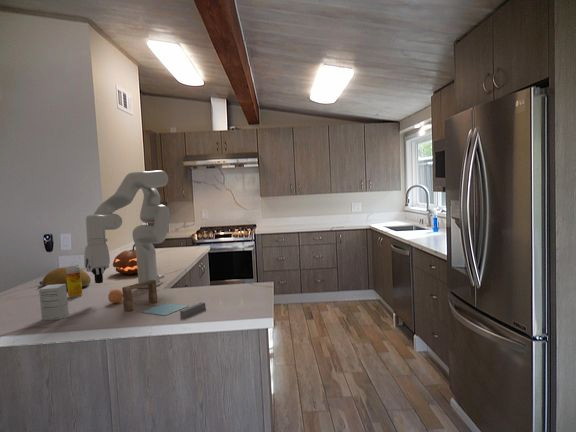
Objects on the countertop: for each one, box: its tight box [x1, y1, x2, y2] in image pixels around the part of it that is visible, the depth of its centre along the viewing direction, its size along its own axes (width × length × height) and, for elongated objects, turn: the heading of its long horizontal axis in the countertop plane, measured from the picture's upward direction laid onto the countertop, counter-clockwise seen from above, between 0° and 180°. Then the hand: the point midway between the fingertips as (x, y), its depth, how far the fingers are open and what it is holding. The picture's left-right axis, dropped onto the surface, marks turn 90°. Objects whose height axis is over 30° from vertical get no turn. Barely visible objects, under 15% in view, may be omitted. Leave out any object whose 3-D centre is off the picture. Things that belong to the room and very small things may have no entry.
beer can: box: [65, 264, 83, 299], centre depth 197 cm, size 6×6×15 cm
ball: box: [107, 289, 123, 304], centre depth 180 cm, size 6×6×6 cm
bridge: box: [121, 280, 158, 313], centre depth 172 cm, size 3×15×10 cm, turn 151°
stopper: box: [179, 302, 207, 319], centre depth 158 cm, size 12×2×2 cm, turn 151°
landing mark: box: [141, 303, 190, 317], centre depth 166 cm, size 13×13×1 cm
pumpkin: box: [112, 243, 138, 276], centre depth 250 cm, size 25×25×19 cm
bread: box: [42, 266, 92, 290], centre depth 225 cm, size 18×35×10 cm, turn 54°
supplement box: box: [38, 284, 69, 321], centre depth 163 cm, size 7×7×13 cm
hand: (98, 282), depth 184 cm, fingers closed
